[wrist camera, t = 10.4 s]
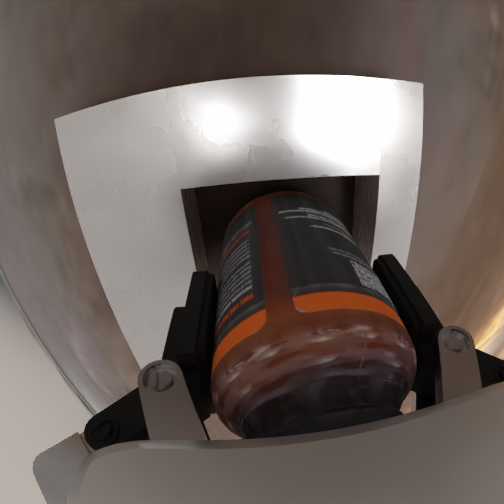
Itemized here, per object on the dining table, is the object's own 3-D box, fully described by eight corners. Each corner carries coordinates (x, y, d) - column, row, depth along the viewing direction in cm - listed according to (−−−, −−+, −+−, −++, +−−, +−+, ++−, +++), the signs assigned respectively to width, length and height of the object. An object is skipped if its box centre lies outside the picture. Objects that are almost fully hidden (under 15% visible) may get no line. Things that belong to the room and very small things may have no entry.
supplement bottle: (223, 292, 16) (210, 513, 7) (222, 184, 13) (175, 449, 4) (332, 292, 17) (393, 493, 7) (352, 189, 13) (504, 401, 4)
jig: (391, 81, 12) (422, 83, 9) (367, 330, 20) (380, 361, 17) (86, 110, 12) (54, 119, 10) (155, 347, 20) (147, 380, 18)
